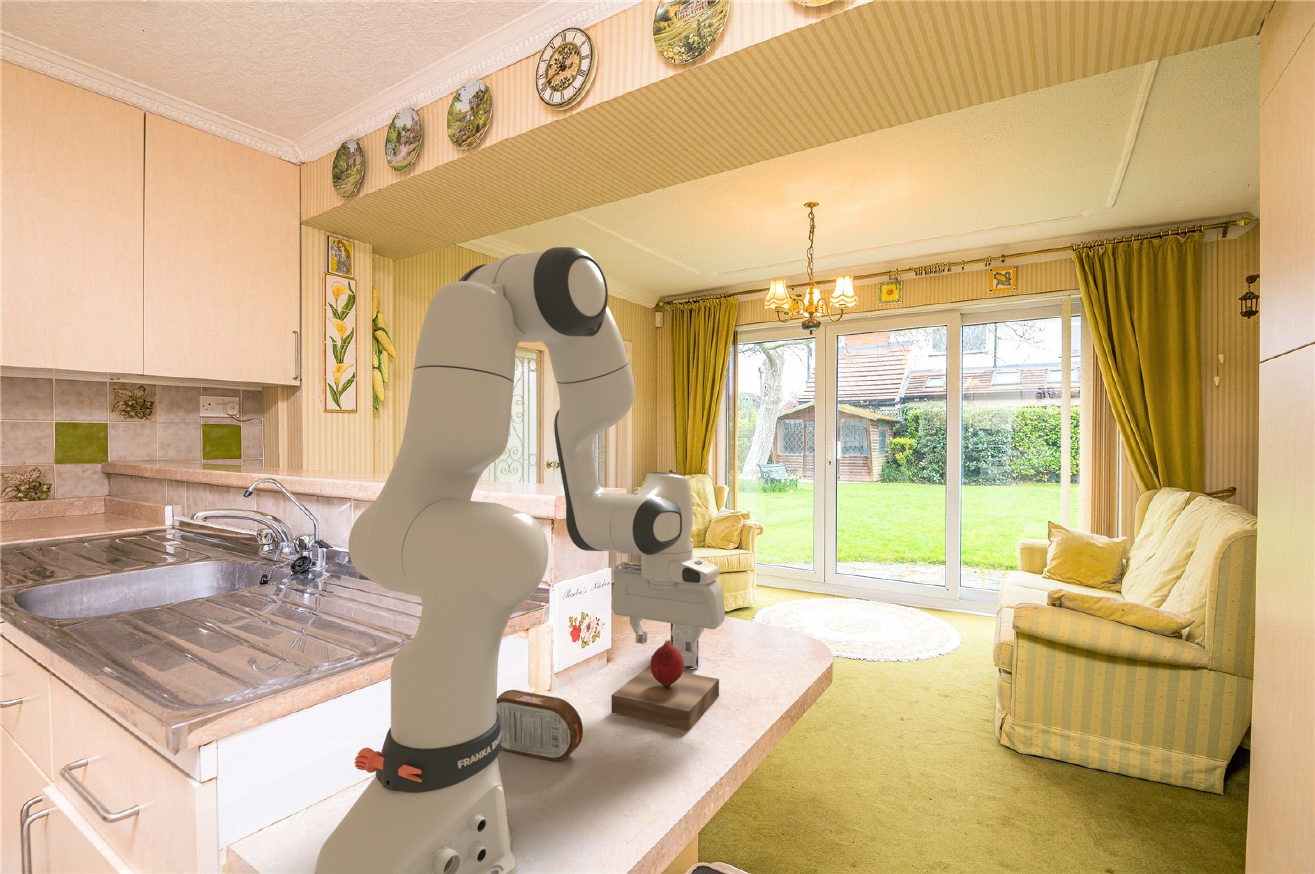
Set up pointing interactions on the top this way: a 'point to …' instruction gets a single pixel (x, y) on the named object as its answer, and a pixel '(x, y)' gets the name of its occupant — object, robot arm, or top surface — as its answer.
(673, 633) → the candy box
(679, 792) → the top surface
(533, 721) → the tin
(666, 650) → the onion
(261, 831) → the top surface
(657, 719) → the walnut block
